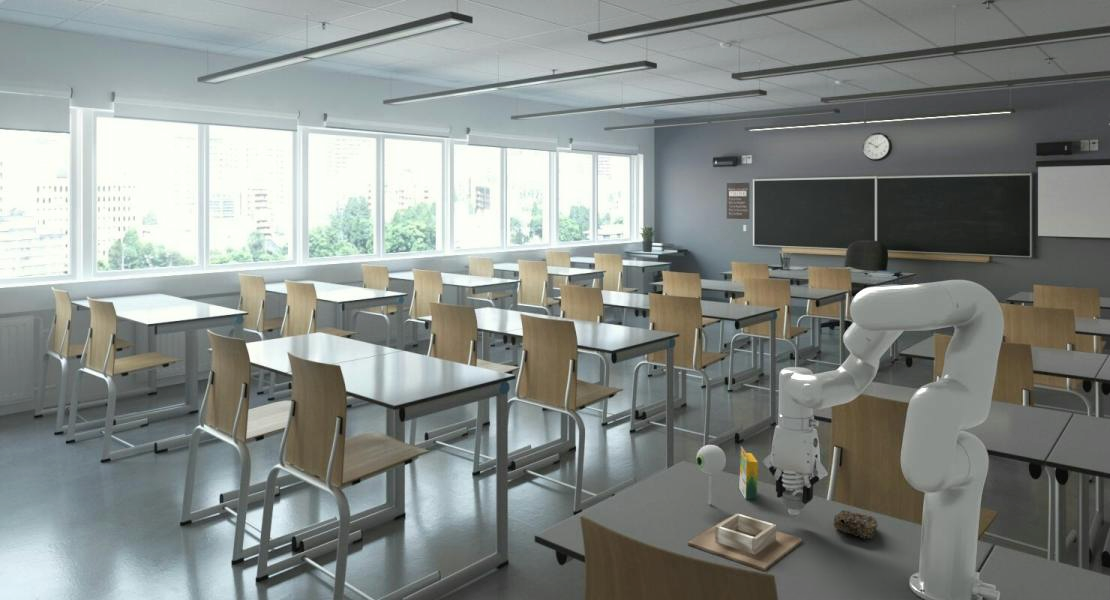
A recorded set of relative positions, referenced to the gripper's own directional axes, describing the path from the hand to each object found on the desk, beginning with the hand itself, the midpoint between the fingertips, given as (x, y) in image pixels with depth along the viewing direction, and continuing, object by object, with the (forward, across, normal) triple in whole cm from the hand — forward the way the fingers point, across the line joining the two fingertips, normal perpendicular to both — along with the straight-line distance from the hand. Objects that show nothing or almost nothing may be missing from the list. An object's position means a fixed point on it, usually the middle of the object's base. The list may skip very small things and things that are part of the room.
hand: (794, 498), depth 180 cm
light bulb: (+4, 0, 0) cm, 4 cm away
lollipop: (+6, +21, +2) cm, 22 cm away
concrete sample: (+7, -12, -6) cm, 15 cm away
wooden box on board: (+6, +4, +16) cm, 17 cm away
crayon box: (+6, +17, -10) cm, 21 cm away
